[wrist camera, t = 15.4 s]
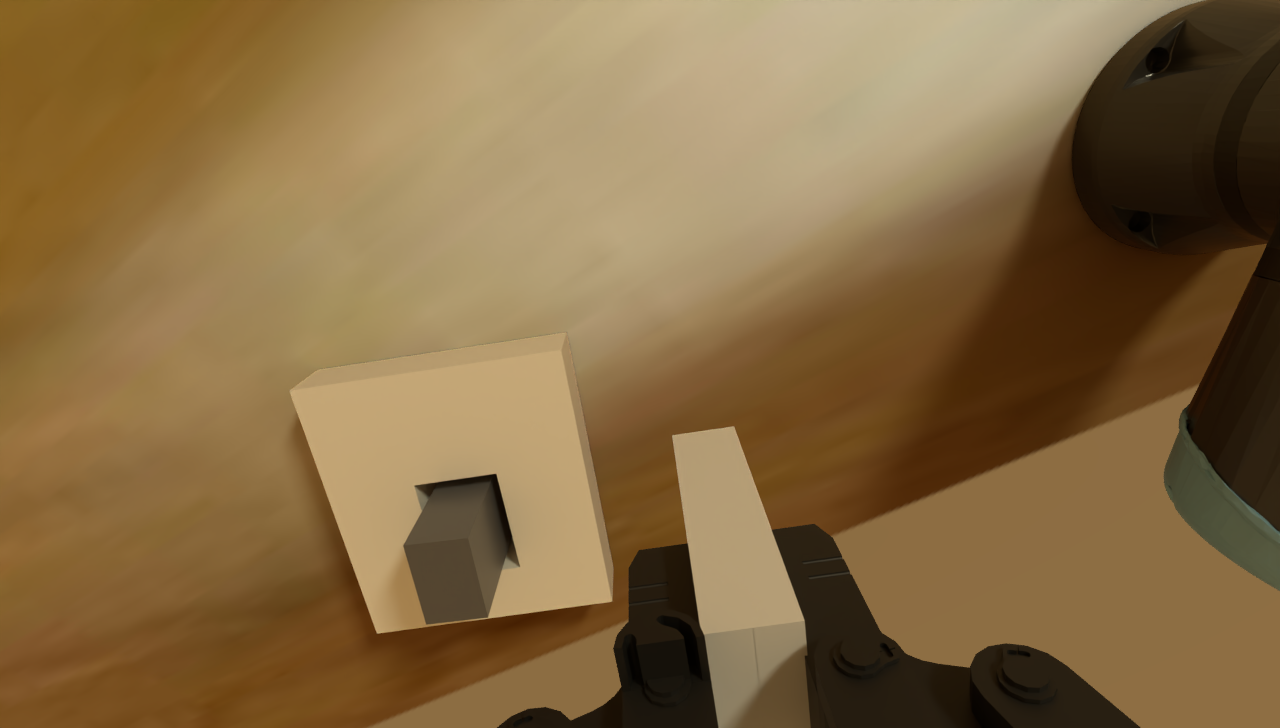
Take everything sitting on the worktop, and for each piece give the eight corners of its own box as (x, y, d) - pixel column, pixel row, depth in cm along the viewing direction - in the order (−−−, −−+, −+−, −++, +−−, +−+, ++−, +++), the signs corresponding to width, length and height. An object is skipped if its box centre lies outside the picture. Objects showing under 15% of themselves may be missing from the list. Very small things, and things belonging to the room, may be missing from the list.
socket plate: (566, 332, 45) (561, 349, 41) (613, 567, 52) (612, 601, 48) (317, 369, 46) (289, 390, 42) (395, 597, 52) (377, 633, 48)
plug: (499, 459, 48) (468, 538, 39) (514, 527, 50) (487, 617, 41) (447, 465, 48) (403, 545, 39) (464, 533, 50) (426, 624, 41)
